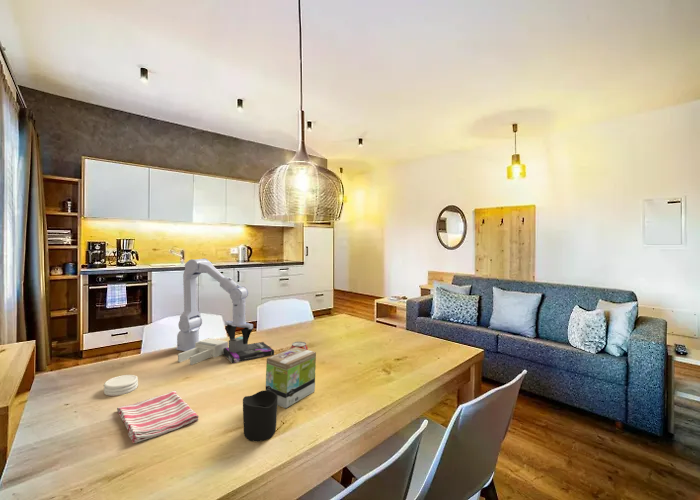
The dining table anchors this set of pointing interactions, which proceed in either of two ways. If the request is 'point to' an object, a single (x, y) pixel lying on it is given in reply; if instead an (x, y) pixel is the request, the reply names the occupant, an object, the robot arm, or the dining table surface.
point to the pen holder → (260, 415)
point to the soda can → (299, 345)
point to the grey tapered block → (237, 344)
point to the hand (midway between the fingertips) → (238, 342)
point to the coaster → (120, 385)
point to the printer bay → (203, 350)
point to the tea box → (291, 375)
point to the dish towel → (156, 416)
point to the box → (249, 352)
